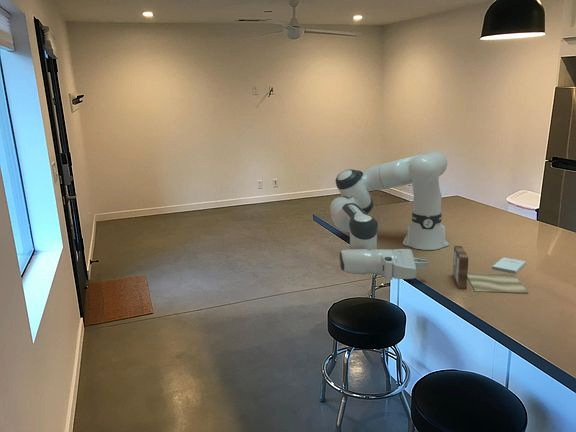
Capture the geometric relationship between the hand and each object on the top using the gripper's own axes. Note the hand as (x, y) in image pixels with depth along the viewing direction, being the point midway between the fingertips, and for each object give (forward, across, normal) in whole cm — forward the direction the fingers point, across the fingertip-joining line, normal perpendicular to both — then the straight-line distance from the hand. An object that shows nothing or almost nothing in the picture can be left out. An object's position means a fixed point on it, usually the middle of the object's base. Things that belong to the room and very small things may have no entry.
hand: (427, 263), depth 159 cm
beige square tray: (+22, 0, -6) cm, 23 cm away
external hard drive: (+31, -17, -7) cm, 36 cm away
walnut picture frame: (+10, 0, -6) cm, 12 cm away
